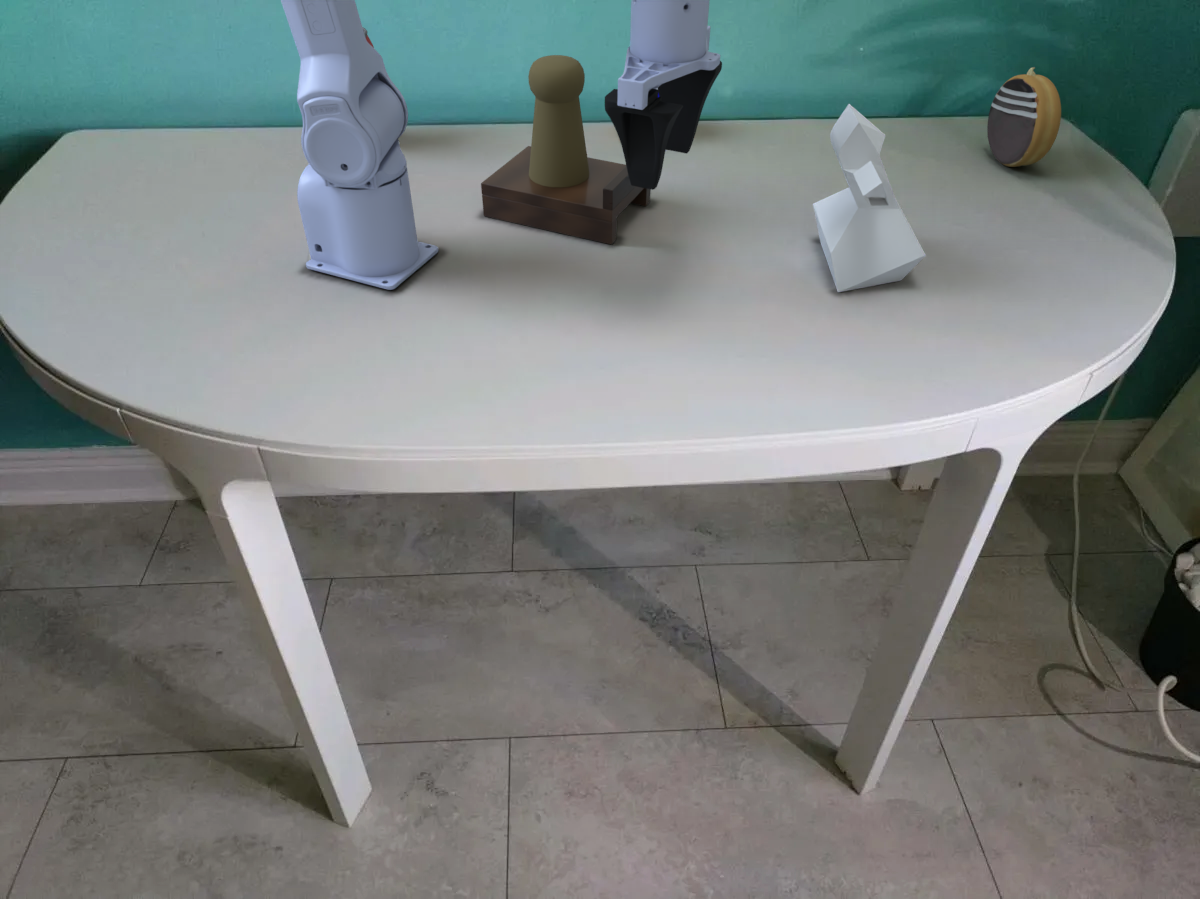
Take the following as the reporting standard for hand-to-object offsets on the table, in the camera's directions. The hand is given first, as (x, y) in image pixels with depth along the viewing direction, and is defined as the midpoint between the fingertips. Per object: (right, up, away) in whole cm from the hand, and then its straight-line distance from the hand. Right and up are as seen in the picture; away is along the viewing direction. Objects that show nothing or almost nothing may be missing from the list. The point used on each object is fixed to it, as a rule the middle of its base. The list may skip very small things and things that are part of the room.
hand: (661, 167), depth 73 cm
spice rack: (-8, +1, +17) cm, 19 cm away
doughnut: (+41, +9, +26) cm, 49 cm away
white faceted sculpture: (+19, -6, +10) cm, 22 cm away
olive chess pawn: (-9, +4, +15) cm, 18 cm away
